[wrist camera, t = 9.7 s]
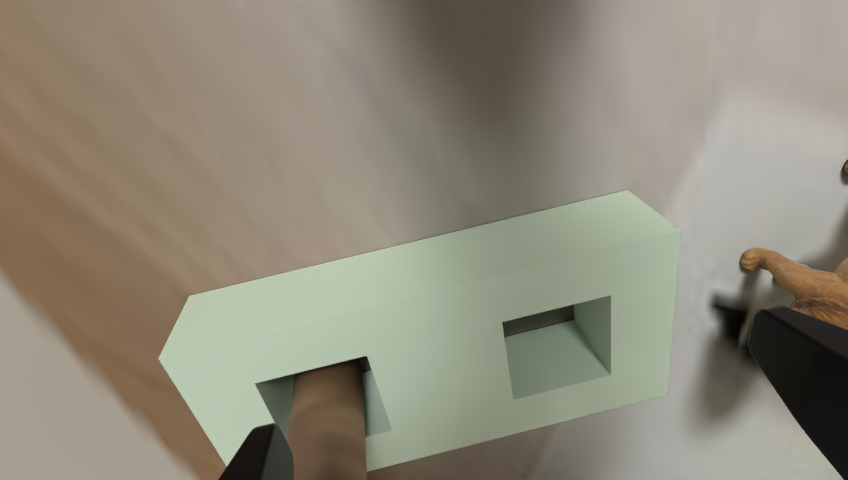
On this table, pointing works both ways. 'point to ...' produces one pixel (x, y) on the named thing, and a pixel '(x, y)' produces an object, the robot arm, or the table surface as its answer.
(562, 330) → the hole block
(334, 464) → the peg
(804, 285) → the lion figurine
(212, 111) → the table surface
